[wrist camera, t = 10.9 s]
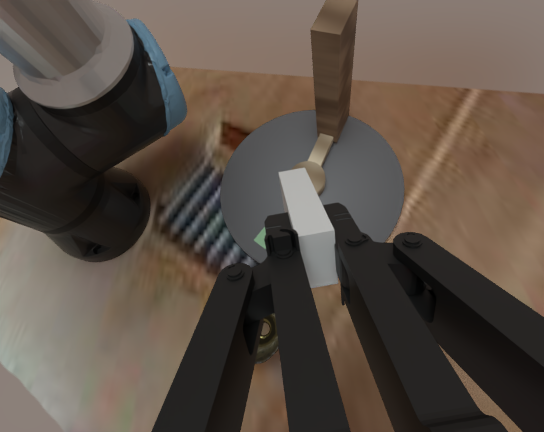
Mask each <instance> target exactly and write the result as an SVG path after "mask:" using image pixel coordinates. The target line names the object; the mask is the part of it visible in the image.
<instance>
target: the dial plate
mask: <svg viewBox="0 0 544 432" xmlns="http://www.w3.org/2000/svg"><path fill="white" fill-rule="evenodd" d="M317 139H318V137H317V123H316V110H307V111H299V112H293V113H290V114H286V115H283V116H280V117H278V118H275V119H273V120H271V121H269V122H267V123H265V124H263V125H262V126H260V127H259V128H257V129H256V130H254V131H253V132H252V133H251V134H250V135H249V136H247V137H246V138H245V139H244V140H243V142H242V143H241V144H240V145H239V146H238V147H237V149H236V150H235V151H234V153H233V155H232V156H231V158H230V160H229V162H228V164H227V166H226V169H225V171H224V175H223V178H222V183H221V190H220V202H221V209H222V214H223V217H224V221H225V223H226V226H227V228H228V230H229V232H230V234H231V235H232V237H233V238H234V240H235V241H236V242H237V244H238V245H239V246H240V247H241V248H242V249H243V250H244V251H245V252H246V253H247V254H248V255H249V256H250V257H251V258H253V259H254V260H255V261H257V262H258V263H262V262H263V261H264V260H265V259H266V257H267V251H266V246H265V241H264V238H265V235H266V232H265V224H264V221H265V220H266V218H267V216H269V215H274V214H280V213H285V211H284V205H283V198H282V192H281V186H280V179H279V173H278V172H283V171H288V170H291V169H292V168H293V167H294V166H295V165H296V164H298V163H300V162H304V161H308V159H309V157H310V154H311V152H312V150H313V148H314V146H315V144H316V142H317ZM322 168H323V170H324V172H325V188H324V191H323V192H322V193H321V195H319V196H318V197H319V199H320V201H321V203H322V205H326V204H332V203H338V202H339V203H340V204H342V205H344V206H345V207H346V208H347V210H348V211H349V213H350V215H351V216H352V218H353V220H354V221H355V223H356V225H357V226H358V228H359V230H360V231H361V232H363V233H365V234H367V235H368V236H370V237H371V239H372V240H373V241H375V242H382V243H384V242H385V241H386V240H387V239H388V237H389V236H390V234H391V232H392V230H393V229H394V227H395V225H396V223H397V221H398V218H399V216H400V213H401V210H402V205H403V201H404V180H403V174H402V170H401V166H400V164H399V161H398V159H397V157H396V155H395V153H394V151H393V150H392V148H391V147H390V145H389V144H388V143H387V142H386V140H385V139H384V138H383V137H382V136H381V135H380V134H379V133H378V132H377V131H375V130H374V129H373V128H371V127H370V126H369V125H367V124H365V123H364V122H362V121H360V120H358V119H356V118H353V117H351V116H348V118H347V121H346V123H345V125H344V127H343V130H342V132H341V134H340V137H339V139H338V141H337V143H335V142H333V143H332V145H331V147H330V150H329V152H328V154H327V156H326V159H325V161H324V163H323V165H322Z"/></svg>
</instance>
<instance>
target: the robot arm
mask: <svg viewBox="0 0 544 432" xmlns="http://www.w3.org/2000/svg"><path fill="white" fill-rule="evenodd" d="M0 54H2V55H3V56H4V57H5V58H7V59H8V60H9V61H10V62H12V63H13V72H14V77H15V80H16V82H17V84H18V86H19V87H18V88H16V89H15V90H13V91H11V92H9V93H6V92H5V91H4V90H3V89H2V88H1V87H0V217H1V218H4V219H7V220H10V221H12V222H15V223H18V224H21V225H24V226H27V227H30V228H32V229H35V230H38V231H41V232H43V233H45V234H46V235H47V236H48V237H49V238H50V239H51V240H52V241H53V242H54V243H56V244H57V245H58V246H59V247H60V248H61V249H62V250H63V251H64V252H66V253H67V254H69V255H71V256H73V257H76V258H79V259H82V260H85V261H90V262H101V261H106V260H109V259H112V258H115V257H117V256H119V255H120V254H122V253H123V252H125V251H126V250H128V249H129V248H130V247H131V246H132V245H133V244H134V243H135V242H136V241H137V239H138V238H139V237H140V235H141V234H142V232H143V230H144V229H145V227H146V224H147V221H148V218H149V214H150V199H149V195H148V192H147V190H146V188H145V187H144V185H143V184H142V183H141V182H140V181H139V180H138V179H136V178H135V177H134V176H133V175H131V174H130V173H128V172H126V171H124V170H122V169H119V168H115V167H114V166H115V165H117V164H119V163H120V162H122V161H123V160H125V159H127V158H128V157H130V156H132V155H133V154H135V153H137V152H138V151H140V150H142V149H143V148H145V147H146V146H148V145H150V144H151V143H153V142H155V141H156V140H158V139H160V138H161V137H163V136H166V135H167V134H168V133H169V131H170V130H172V129H173V128H174V127H176V126H177V125H178V124H180V123H181V122H183V120H184V119H185V117H186V114H187V105H186V101H185V98H184V95H183V93H182V90H181V88H180V86H179V83H178V81H177V79H176V77H175V75H174V73H173V72H172V70H171V69H170V66H169V64H168V62H167V60H166V57H165V56H164V54H163V52H162V50H161V48H160V47H159V45H158V44H157V42H156V40H155V39H154V37H153V35H152V34H151V32H150V31H149V30H148V29H147V27H146V26H145V24H144V23H143V22H142V21H140V20H139V19H131V20H125V18H124V17H123V16H122V15H121V14H120V13H119V12H118V11H117V10H115V9H114V8H113V7H110V6H108V5H106V4H103V3H100V2H94V1H92V0H0ZM278 173H279V179H280V186H281V192H282V198H283V205H284V211H285V213H280V214H274V215H269V216H267V218H266V220H265V221H264V224H265V232H266V235H265V238H264V241H265V246H266V251H267V257H266V259H265V260H264V261H263V262H262V263H260V264H259V265H257V266H254V267H252V268H251V267H250V266H249V265H247V264H243V263H236V264H232V265H229V266H227V267H225V268H224V269H223V270H222V271H221V272H220V273H219V275H218V277H217V280H216V282H215V284H214V287H213V289H212V291H211V294H210V296H209V298H208V301H207V303H206V305H205V308H204V310H203V312H202V315H201V317H200V319H199V322H198V324H197V326H196V329H195V331H194V333H193V336H192V338H191V341H190V343H189V345H188V348H187V350H186V352H185V355H184V357H183V359H182V362H181V364H180V366H179V369H178V371H177V373H176V376H175V378H174V380H173V383H172V385H171V387H170V390H169V392H168V394H167V397H166V399H165V401H164V404H163V406H162V408H161V411H160V413H159V415H158V418H157V420H156V422H155V425H154V427H153V429H152V432H240V430H241V426H242V421H243V416H244V412H245V407H246V402H247V398H248V393H249V388H250V384H251V379H252V374H253V370H254V365H255V360H256V356H257V351H258V346H259V341H260V337H261V332H262V327H263V323H264V318H265V317H267V316H269V315H271V314H273V313H275V320H276V328H277V336H278V344H279V352H280V360H281V368H282V376H283V384H284V392H285V401H286V409H287V417H288V425H289V432H351V431H350V428H349V424H348V421H347V417H346V414H345V410H344V406H343V403H342V399H341V396H340V392H339V388H338V385H337V381H336V378H335V374H334V370H333V367H332V363H331V360H330V356H329V352H328V349H327V345H326V341H325V338H324V334H323V331H322V327H321V323H320V320H319V316H318V313H317V309H316V305H315V302H314V298H313V295H312V291H311V288H315V287H321V286H326V285H332V284H338V277H339V280H340V283H341V299H342V305H345V303H346V306H347V308H348V311H349V314H350V316H351V319H352V322H353V324H354V327H355V329H356V332H357V335H358V337H359V340H360V342H361V345H362V348H363V350H364V353H365V355H366V358H367V361H368V363H369V366H370V369H371V371H372V374H373V376H374V379H375V382H376V384H377V387H378V389H379V392H380V395H381V397H382V400H383V402H384V405H385V408H386V410H387V413H388V416H389V418H390V421H391V423H392V426H393V429H394V431H395V432H508V431H507V430H506V428H505V427H504V426H503V425H502V423H501V422H499V421H498V420H497V419H496V418H495V417H493V416H489V415H485V414H484V413H483V412H481V411H480V409H479V408H478V407H477V405H476V404H475V402H474V401H473V399H472V397H471V396H470V394H469V393H468V391H467V389H466V388H465V386H464V385H463V383H462V381H461V380H460V378H459V377H458V375H457V374H456V372H455V370H454V369H453V367H452V366H451V364H450V362H449V361H448V359H447V358H446V356H445V355H444V353H443V351H442V350H441V348H440V347H439V345H440V346H441V347H442V348H443V349H444V350H445V352H446V353H447V354H448V355H449V356H450V357H451V358H452V359H453V360H454V361H455V362H456V363H457V364H458V365H459V366H460V367H461V368H462V369H463V370H464V371H465V372H466V373H467V374H468V375H469V376H470V377H471V378H472V379H473V380H474V382H475V383H476V384H477V385H478V386H479V387H480V388H481V389H482V390H483V391H484V392H485V393H486V394H487V395H488V396H489V397H490V398H491V399H492V400H493V401H494V402H495V403H496V404H497V405H498V406H499V407H500V408H501V409H502V411H503V412H504V413H505V414H506V415H507V416H508V417H509V418H510V419H511V420H512V421H513V422H514V423H515V424H516V425H517V426H518V427H519V428H520V429H521V430H522V431H523V432H544V317H543V316H541V315H540V314H538V313H537V312H535V311H534V310H532V309H531V308H530V307H528V306H527V305H525V304H524V303H522V302H521V301H519V300H518V299H516V298H515V297H514V296H512V295H511V294H509V293H508V292H506V291H505V290H503V289H502V288H500V287H499V286H498V285H496V284H495V283H493V282H492V281H490V280H489V279H487V278H486V277H484V276H483V275H482V274H480V273H479V272H477V271H476V270H474V269H473V268H471V267H470V266H468V265H467V264H465V263H464V262H463V261H461V260H460V259H458V258H457V257H455V256H454V255H452V254H451V253H449V252H448V251H447V250H445V249H444V248H442V247H441V246H439V245H438V244H436V243H435V242H433V241H432V240H431V239H429V238H428V237H426V236H424V235H422V234H419V233H414V232H405V233H401V234H399V235H397V236H395V238H394V239H393V243H382V242H375V241H373V240H372V239H371V237H370V236H368V235H367V234H365V233H363V232H361V231H360V230H359V228H358V226H357V225H356V223H355V221H354V220H353V218H352V216H351V215H350V213H349V211H348V210H347V208H346V207H345V206H344V205H342V204H340V203H339V202H338V203H332V204H326V205H322V203H321V201H320V199H319V197H318V194H317V192H316V190H315V188H314V186H313V184H312V182H311V180H310V178H309V175H308V173H307V171H306V169H305V168H299V169H294V170H288V171H283V172H278ZM344 301H345V302H344ZM438 344H439V345H438Z"/></svg>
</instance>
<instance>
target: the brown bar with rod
mask: <svg viewBox="0 0 544 432" xmlns="http://www.w3.org/2000/svg"><path fill="white" fill-rule="evenodd" d="M357 8H358V0H326V1H325V3H324V5H323V7H322V9H321V11H320V13H319V15H318V16H317V19H316V20H315V22H314V24H313V26H312V28H311V45H312V60H313V76H314V91H315V107H316V123H317V137H318V139H317V142H316V144H315V146H314V148H313V150H312V152H311V154H310V157H309V159H308V161H304V162H300V163H298V164H296V165H295V166H294V167H293V168H292V169H291V170H294V169H299V168H305V169H306V171H307V173H308V175H309V178H310V180H311V182H312V184H313V186H314V188H315V190H316V192H317V194H318V196H319V195H321V193H322V192H323V191H324V188H325V172H324V170H323V168H322V165H323V163H324V161H325V159H326V156H327V154H328V152H329V150H330V147H331V145H332V143H333V142H335V143H337V141H338V139H339V137H340V134H341V132H342V130H343V127H344V125H345V123H346V121H347V118H348V116H349V106H350V93H351V81H352V69H353V57H354V45H355V33H356V32H355V31H356V20H357Z"/></svg>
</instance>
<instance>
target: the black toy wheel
mask: <svg viewBox="0 0 544 432" xmlns="http://www.w3.org/2000/svg"><path fill="white" fill-rule="evenodd" d="M264 322H266V323H268V325H269V327H270V331H269V333H268V334H267V335H264V336H263V335H261V337H260V341H259V346H258V351H257V356H256V360H255V364H257V363H263V362H265V361H267V360H268V359H269V358H270V357H271V356H272V355H273V354H275V353H276V351H277V350H278V348H279V344H278V336H277V328H276V320H275V313H273V314H271V315H269V316H267V317H265V318H264Z"/></svg>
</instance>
